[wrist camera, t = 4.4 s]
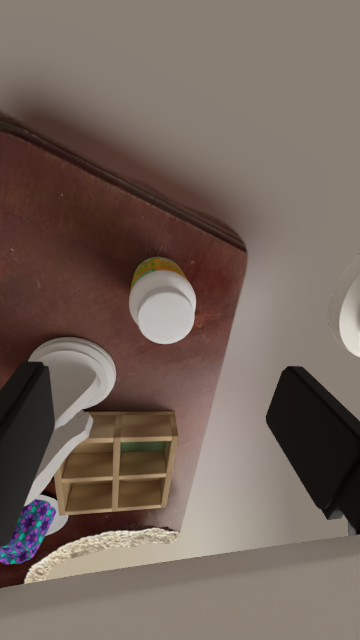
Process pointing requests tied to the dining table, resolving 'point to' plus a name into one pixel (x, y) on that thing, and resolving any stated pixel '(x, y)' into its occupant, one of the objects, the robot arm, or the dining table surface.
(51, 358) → the chess piece
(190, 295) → the supplement bottle
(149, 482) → the grid
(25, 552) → the pudding
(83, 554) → the dining table surface
